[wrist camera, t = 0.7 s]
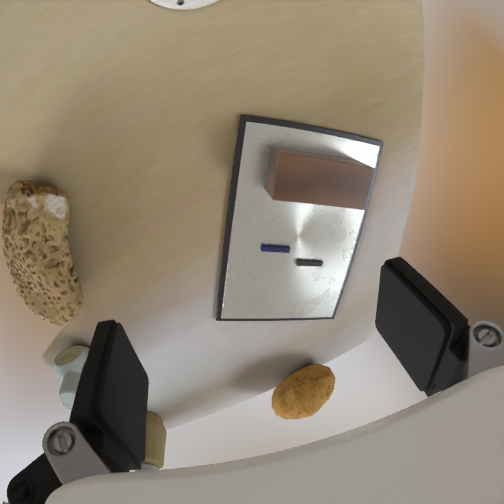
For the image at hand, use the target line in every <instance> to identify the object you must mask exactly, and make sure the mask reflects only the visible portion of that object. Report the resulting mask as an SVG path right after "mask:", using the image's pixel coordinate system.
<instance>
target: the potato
mask: <svg viewBox="0 0 504 504" xmlns="http://www.w3.org/2000/svg"><path fill="white" fill-rule="evenodd" d="M334 384H335V376H334V374H333V373H332V371H331V369H330V368H329V367H326V366H323V365H320V364H314V365H309V366H306V367H304V368H301V369H299V370H297V371H295V372H294V373H292V374H290V375H289V376H287V377H286V378H285V379H284V380H283V381H282V382H281V383H280V384H279V385H278V386H277V387H276V389H275V390H274V392H273V396H272V408H273V410H274V412H275V414H276V415H277V416H279V417H281V418H284V419H301V418H305V417H309V416H312V415H313V414H315V413H316V412H318V410H319V409H320V408H321V407H322V406H323V405H324V404H325V402H326V401H327V400H328V399H329V397H330V396H331V394H332V392H333V389H334Z"/></svg>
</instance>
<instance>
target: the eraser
mask: <svg viewBox="0 0 504 504" xmlns="http://www.w3.org/2000/svg"><path fill="white" fill-rule="evenodd" d="M374 170H375V168H373V167H371V166H369V165H367V164H364V163H362V162H360V161H358V160H355V159H350V158H345V157H340V156H335V155H329V154H323V153H318V152H312V151H305V150H299V149H292V148H286V147H278V146H270V151H269V157H268V164H267V170H266V176H265V183H264V189H265V190H266V192H267V193H268V194H269V195H270V197H271V198H272V199H273V200H276V201H287V202H297V203H306V204H316V205H325V206H334V207H342V208H350V209H358V210H365V206H366V202H367V199H368V195H369V191H370V186H371V182H372V178H373V174H374Z"/></svg>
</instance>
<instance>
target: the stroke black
mask: <svg viewBox="0 0 504 504" xmlns="http://www.w3.org/2000/svg"><path fill="white" fill-rule="evenodd" d="M296 265H297V266H316V267H322V265H323V261H320V260H297V262H296Z"/></svg>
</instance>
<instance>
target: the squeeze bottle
mask: <svg viewBox="0 0 504 504" xmlns="http://www.w3.org/2000/svg"><path fill="white" fill-rule="evenodd" d="M165 441H166V430H165V427H164V425H163V422H162V420H161V418H160V416H159V415H157V414H155V413H152V412H147V420H146V451H145V461H144V462H141V470H135V471H153V470H159V469H160V468H162V467H163V463H164V451H165Z"/></svg>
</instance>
